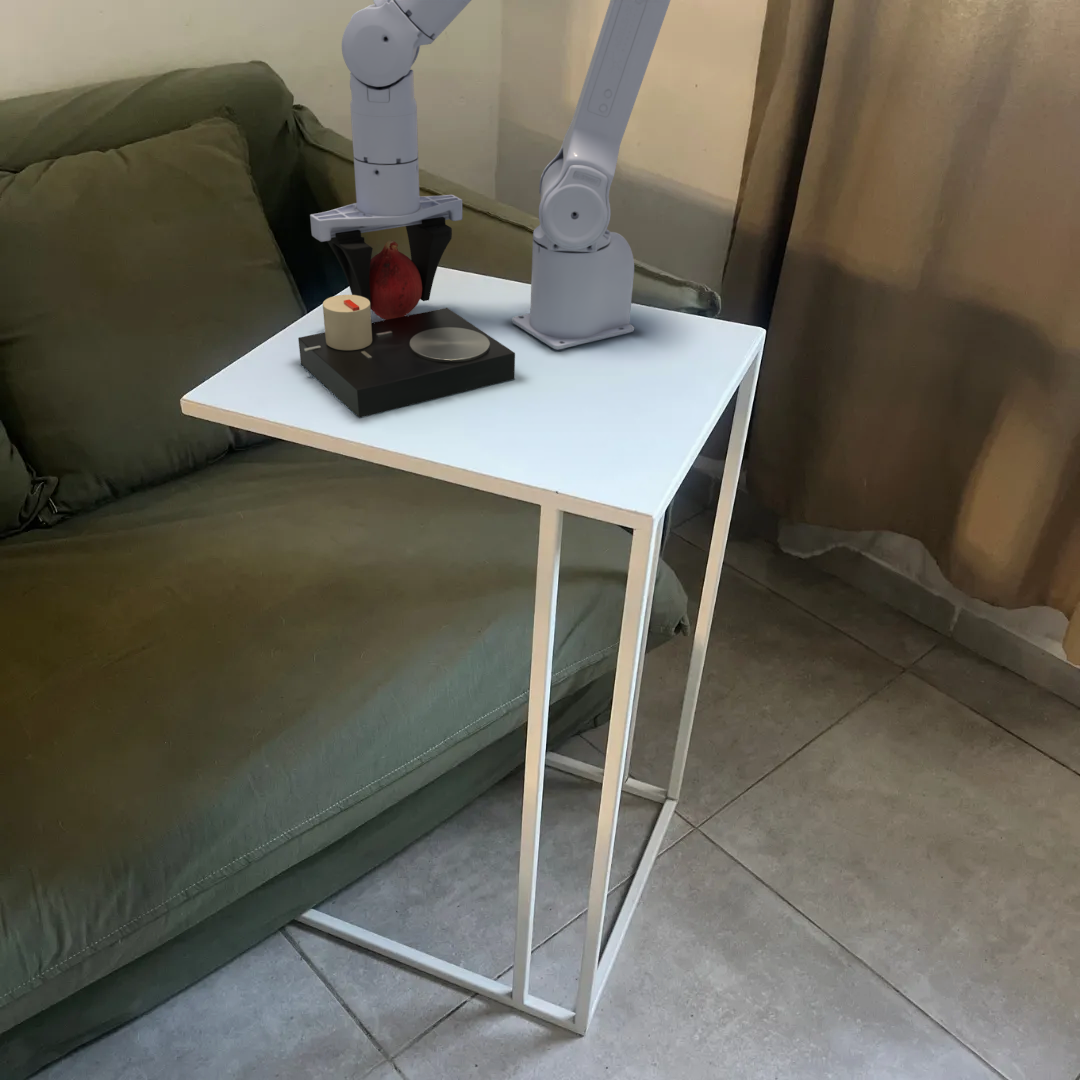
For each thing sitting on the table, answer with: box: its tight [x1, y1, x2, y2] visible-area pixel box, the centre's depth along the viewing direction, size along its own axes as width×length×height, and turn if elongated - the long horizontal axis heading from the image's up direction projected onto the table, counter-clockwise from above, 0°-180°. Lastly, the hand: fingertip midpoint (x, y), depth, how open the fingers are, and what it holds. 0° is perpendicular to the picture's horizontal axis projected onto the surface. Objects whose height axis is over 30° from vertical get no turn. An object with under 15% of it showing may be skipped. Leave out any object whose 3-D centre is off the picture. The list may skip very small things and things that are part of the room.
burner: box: [410, 327, 490, 363], centre depth 89 cm, size 7×7×1 cm
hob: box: [297, 307, 516, 418], centre depth 89 cm, size 16×13×3 cm
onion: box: [369, 239, 422, 320], centre depth 97 cm, size 6×6×8 cm
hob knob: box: [322, 294, 372, 350], centre depth 87 cm, size 4×4×4 cm
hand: (392, 303), depth 98 cm, fingers closed on onion, 6 cm apart
